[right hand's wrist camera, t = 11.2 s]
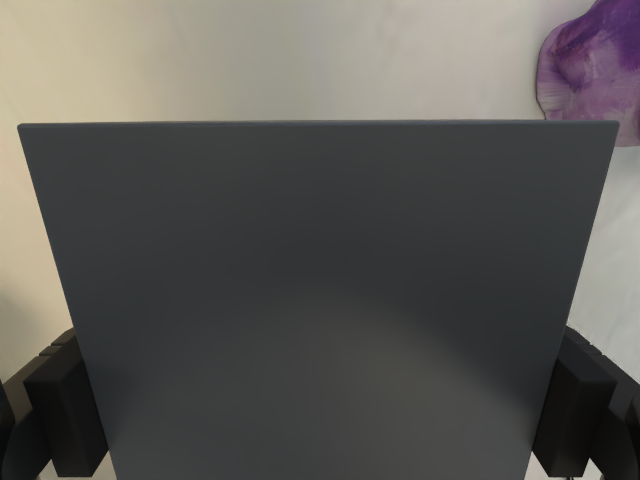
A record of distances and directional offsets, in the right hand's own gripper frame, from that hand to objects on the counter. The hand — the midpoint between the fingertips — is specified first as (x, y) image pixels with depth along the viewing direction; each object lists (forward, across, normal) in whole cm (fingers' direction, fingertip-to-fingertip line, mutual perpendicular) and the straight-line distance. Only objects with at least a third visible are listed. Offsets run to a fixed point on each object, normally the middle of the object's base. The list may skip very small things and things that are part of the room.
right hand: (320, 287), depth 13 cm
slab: (0, 0, -24) cm, 24 cm away
